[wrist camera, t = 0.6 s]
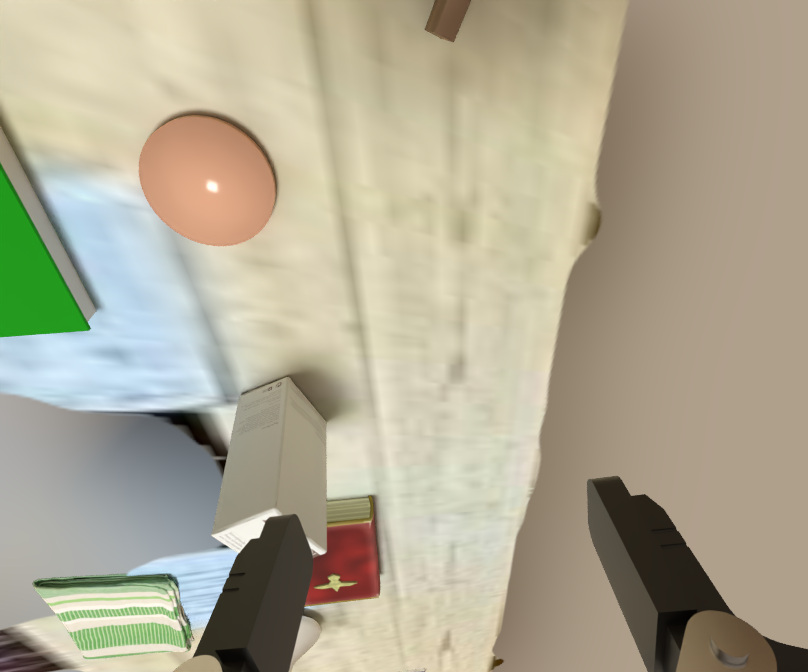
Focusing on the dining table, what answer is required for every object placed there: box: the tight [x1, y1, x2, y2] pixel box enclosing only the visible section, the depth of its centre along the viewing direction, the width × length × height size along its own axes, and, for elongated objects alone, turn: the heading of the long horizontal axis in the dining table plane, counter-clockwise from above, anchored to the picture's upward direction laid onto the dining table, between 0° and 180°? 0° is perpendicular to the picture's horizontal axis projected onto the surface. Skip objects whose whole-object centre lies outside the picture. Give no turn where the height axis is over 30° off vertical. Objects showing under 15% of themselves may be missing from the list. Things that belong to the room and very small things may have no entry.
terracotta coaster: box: [139, 115, 276, 246], centre depth 32 cm, size 9×9×1 cm
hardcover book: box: [305, 495, 380, 607], centre depth 62 cm, size 12×21×4 cm, turn 1°
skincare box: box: [211, 377, 327, 558], centre depth 41 cm, size 8×6×15 cm
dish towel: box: [32, 573, 194, 660], centre depth 68 cm, size 18×23×3 cm
